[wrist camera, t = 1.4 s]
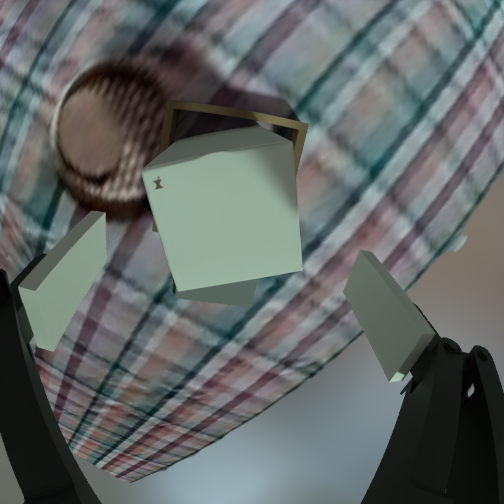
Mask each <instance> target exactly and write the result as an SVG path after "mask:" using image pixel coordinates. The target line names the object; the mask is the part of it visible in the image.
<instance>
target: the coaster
mask: <svg viewBox="0 0 504 504" xmlns="http://www.w3.org/2000/svg"><path fill="white" fill-rule="evenodd" d="M257 280H258V278H257V279H251V280H245V281H239V282H233V283H227V284H221V285H215V286H209V287H203V288H197V289H191V290H185V291H179V292H178V290H177V287H176V293H175V298H179V299H187V300H195V301H203V302H211V303H219V304H228V305H237V306H247V307H251V304H252V300H253V296H254V292H255V288H256V284H257Z"/></svg>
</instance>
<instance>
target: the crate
mask: <svg viewBox="0 0 504 504" xmlns="http://www.w3.org/2000/svg"><path fill="white" fill-rule="evenodd" d="M178 109H181V110H190V111H199V112H206V113H214V114H221V115H227V116H233V117H239V118H245V119H251V120H256V121H261V122H266V123H271V124H276V125H281V126H285V127H290V128H292V131H291V135H290V140H289V141H292V142H293V150H294V160H295V173H296V175H297V171H298V166H299V162H300V158H301V154H302V150H303V146H304V142H305V137H306V133H307V129H308V125H309V124H307V123H303V122H299V121H295V120H291V119H286V118H282V117H277V116H273V115H268V114H263V113H258V112H253V111H247V110H241V109H236V108H229V107H223V106H216V105H209V104H201V103H193V102H184V101H173V100H167V102H166V108H165V114H164V120H163V127H162V134H161V142H160V150H159V154H161V153H162V152H163V151H164V150H166V149H167V148H168V147H169V146H171V145H172V144H173V142H174V135H175V128H176V122H177V115H178ZM152 231H155V232H158V229H157V226H156V223H155V220H154V216H153V228H152Z"/></svg>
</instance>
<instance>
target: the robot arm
mask: <svg viewBox="0 0 504 504" xmlns="http://www.w3.org/2000/svg"><path fill="white" fill-rule="evenodd" d="M106 262H107V256H106V228H105V212H97V211H91V212H90V213H89V214H88V215H87V216H86V217H85V218H84V219H83V220H81V221H80V222H79V223H78V224H77V225H76V226H75V227H74V228H73V229H72V230H71V231H70V232H69V233H68V234H67V235H66V236H65V237H64V238H63V239H62V240H61V241H60V242H59V243H58V244H57V245H56V246H55V247H54V248H53V249H52V250H51V251H50V252H49V253H48V254H44V253H43V254H41V255H39V256H38V257H36V258H34V259H33V260H32V261H31V262H30V263H29V264H28V265H27V267H25V268H24V270H23V271H22V272H21V273H20V274H19V275H18V276H17V277H16V278H15V279H14V281H13V282H12V283H11V284H9V280H8V277H7V274H6V271H4V270H3V269H0V433H1V436H2V440H3V443H4V446H5V449H6V452H7V455H8V458H9V461H10V463H11V466H12V469H13V471H14V474H15V476H16V479H17V481H18V484H19V486H20V488H21V490H22V493H23V495H24V499H25V502H24V504H102V503H101V502H100V500H99V499H98V497H97V496H96V494H95V493H94V491H93V490H92V488H91V486H90V485H89V483H88V481H87V480H86V478H85V476H84V475H83V473H82V471H81V469H80V468H79V466H78V464H77V462H76V460H75V459H74V456H73V455H72V453H71V451H70V449H69V447H68V445H67V443H66V440H65V438H64V436H63V434H62V432H61V430H60V428H59V425H58V423H57V421H56V418H55V416H54V414H53V411H52V409H51V406H50V404H49V401H48V398H47V396H46V393H45V390H44V387H43V384H42V382H41V379H40V375H39V372H38V369H37V366H36V363H35V359H34V356H33V352H32V349H31V346H30V344H29V342H30V341H31V339H32V337H33V336H34V338H35V341H36V344H37V346H38V347H40V348H43V349H46V350H49V351H53V352H54V350H55V348H56V346H57V344H58V343H59V341H60V339H61V337H62V335H63V333H64V331H65V330H66V328H67V326H68V324H69V322H70V321H71V319H72V317H73V315H74V314H75V312H76V310H77V308H78V307H79V305H80V303H81V302H82V300H83V298H84V297H85V295H86V293H87V292H88V290H89V288H90V287H91V285H92V284H93V282H94V280H95V279H96V277H97V276H98V274H99V273H100V271H101V269H102V268H103V266H104V265H105V263H106ZM343 293H344V295H345V297H346V298H347V300H348V302H349V304H350V306H351V308H352V310H353V311H354V313H355V315H356V317H357V319H358V321H359V323H360V325H361V327H362V329H363V331H364V332H365V334H366V336H367V338H368V340H369V342H370V344H371V346H372V348H373V350H374V352H375V354H376V356H377V358H378V360H379V362H380V364H381V366H382V368H383V370H384V373H385V374H386V377H387V379H388V381H389V382H395V381H402V380H403V379H404V378H405V376H406V375H407V374H408V373H409V371H410V372H411V374H412V376H413V377H412V379H411V380H410V381H409V382H408V384H407V385H406V386H405V387H404V389H403V390H402V391H401V393H400V394H401V395H402V394H403V393H404V392H405V391H406V393H405V397H404V400H403V403H402V406H401V409H400V412H399V416H398V418H397V421H396V424H395V427H394V430H393V433H392V435H391V438H390V440H389V443H388V445H387V448H386V451H385V453H384V455H383V458H382V460H381V462H380V465H379V467H378V469H377V471H376V474H375V476H374V478H373V480H372V482H371V484H370V486H369V488H368V490H367V492H366V494H365V497H364V498H363V500H362V502H361V504H504V393H503V389H502V385H501V382H500V379H499V376H498V373H497V370H496V367H495V364H494V361H493V358H492V356H491V354H490V353H489V352H488V350H487V349H485V348H484V347H481V346H477V345H476V346H474V347H473V348H472V350H471V351H470V353H465V352H462V350H461V348H460V346H459V345H458V344H457V343H456V342H454V341H453V340H451V339H449V338H444V337H443V338H441V337H440V336H439V334H438V333H437V332H436V330H435V329H434V327H433V326H432V325H431V323H430V322H429V321H427V318H426V317H425V315H423V313H422V311H421V310H420V309H419V308H418V306H417V305H415V304H414V303H413V302H412V301H411V300H410V298H409V297H408V296H407V295H406V293H405V292H404V291H403V290H402V288H401V287H400V286H399V284H398V283H397V282H396V281H395V279H394V278H393V277H392V276H391V275H390V273H389V272H388V271H387V270H386V268H385V267H384V266H383V265H382V264H381V262H380V261H379V260H378V259H377V258H376V256H375V255H374V254H373V253H372V252H370V251H364V250H360V251H359V254H358V256H357V259H356V261H355V264H354V267H353V269H352V272H351V274H350V277H349V279H348V282H347V284H346V286H345V289H344V291H343ZM473 386H474V393H473V394H472V395H471V396H470V397H468V392H469V391H470V390H471V389H472V387H473ZM445 492H446V493H445Z"/></svg>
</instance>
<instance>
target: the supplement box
mask: <svg viewBox="0 0 504 504" xmlns="http://www.w3.org/2000/svg"><path fill="white" fill-rule="evenodd" d="M141 174H142V178H143V181H144V185H145V189H146V192H147V196H148V200H149V203H150V206H151V210H152V213H153V216H154V220H155V223H156V226H157V229H158V233H159V236H160V239H161V242H162V245H163V248H164V251H165V254H166V258H167V261H168V263H169V266H170V270H171V273H172V276H173V279H174V281H175V284H176V287H177V290H178V292H179V291H185V290H191V289H197V288H203V287H209V286H215V285H221V284H227V283H233V282H239V281H245V280H251V279H257V278H262V277H268V276H273V275H279V274H284V273H290V272H295V271H301V270H303V268H302V256H301V242H300V231H299V216H298V202H297V186H296V173H295V160H294V150H293V142H292V141H289V140H287V139H285V138H284V137H282V136H280V135H278V134H275V133H273V132H271V131H269V130H267V129H265V128H263V127H261V126H259V125H253V126H246V127H239V128H233V129H227V130H221V131H216V132H211V133H205V134H200V135H195V136H191V137H186V138H182V139H178V140H177V141H176V142H174V143H173V144H172V145H171V146H169V147H168V148H167V149H166V150H164V151H163V152H162V153H161V154H159V155H158V156H157V157H156V158H155V159H153V160H152V161H151V162H150V163H149V164H147V165H146V166H145V167H144V168H143V169H142V170H141Z"/></svg>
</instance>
